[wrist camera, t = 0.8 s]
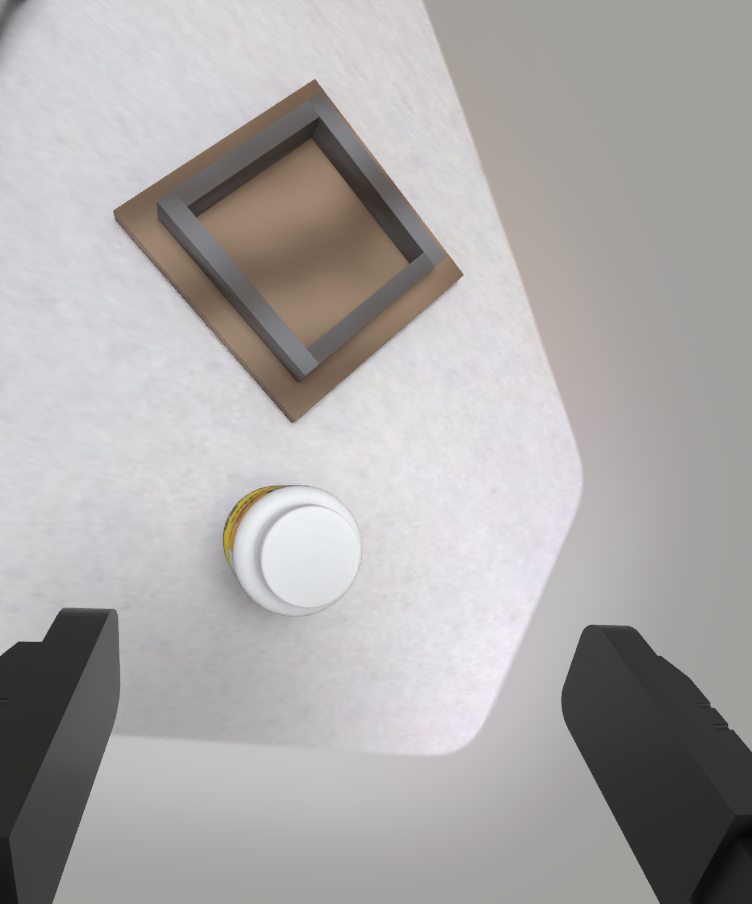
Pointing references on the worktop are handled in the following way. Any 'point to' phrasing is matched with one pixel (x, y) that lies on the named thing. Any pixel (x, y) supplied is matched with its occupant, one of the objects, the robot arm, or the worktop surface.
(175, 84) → the worktop surface
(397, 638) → the worktop surface
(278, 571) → the supplement bottle
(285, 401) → the collar base
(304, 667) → the worktop surface
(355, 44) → the worktop surface
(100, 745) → the robot arm
